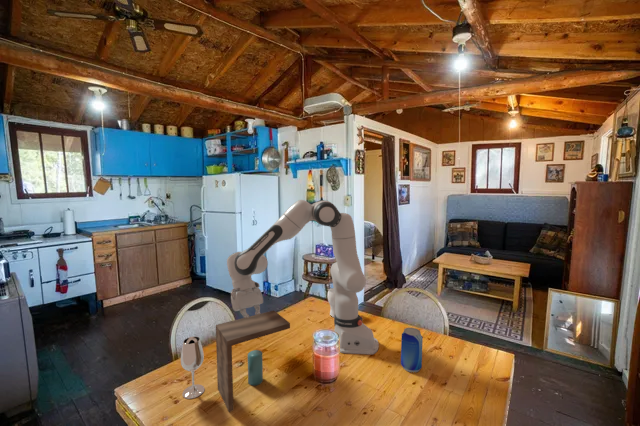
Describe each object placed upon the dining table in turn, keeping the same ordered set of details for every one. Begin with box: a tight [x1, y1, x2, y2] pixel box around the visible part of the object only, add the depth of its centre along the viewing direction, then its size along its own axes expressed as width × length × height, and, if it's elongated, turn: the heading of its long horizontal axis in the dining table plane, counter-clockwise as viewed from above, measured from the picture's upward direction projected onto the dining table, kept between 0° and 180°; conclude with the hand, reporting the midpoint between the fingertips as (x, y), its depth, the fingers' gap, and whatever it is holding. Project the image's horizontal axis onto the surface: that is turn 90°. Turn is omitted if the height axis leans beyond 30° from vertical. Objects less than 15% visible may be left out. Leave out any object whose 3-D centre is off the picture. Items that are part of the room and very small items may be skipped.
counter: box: [215, 310, 291, 413], centre depth 111 cm, size 14×24×25 cm, turn 124°
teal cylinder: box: [247, 349, 264, 387], centre depth 116 cm, size 6×6×11 cm
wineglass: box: [180, 336, 205, 400], centre depth 109 cm, size 8×8×20 cm
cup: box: [326, 287, 335, 318], centre depth 176 cm, size 11×11×15 cm
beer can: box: [400, 327, 424, 373], centre depth 124 cm, size 8×8×16 cm
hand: (252, 317), depth 131 cm, fingers open, 8 cm apart
